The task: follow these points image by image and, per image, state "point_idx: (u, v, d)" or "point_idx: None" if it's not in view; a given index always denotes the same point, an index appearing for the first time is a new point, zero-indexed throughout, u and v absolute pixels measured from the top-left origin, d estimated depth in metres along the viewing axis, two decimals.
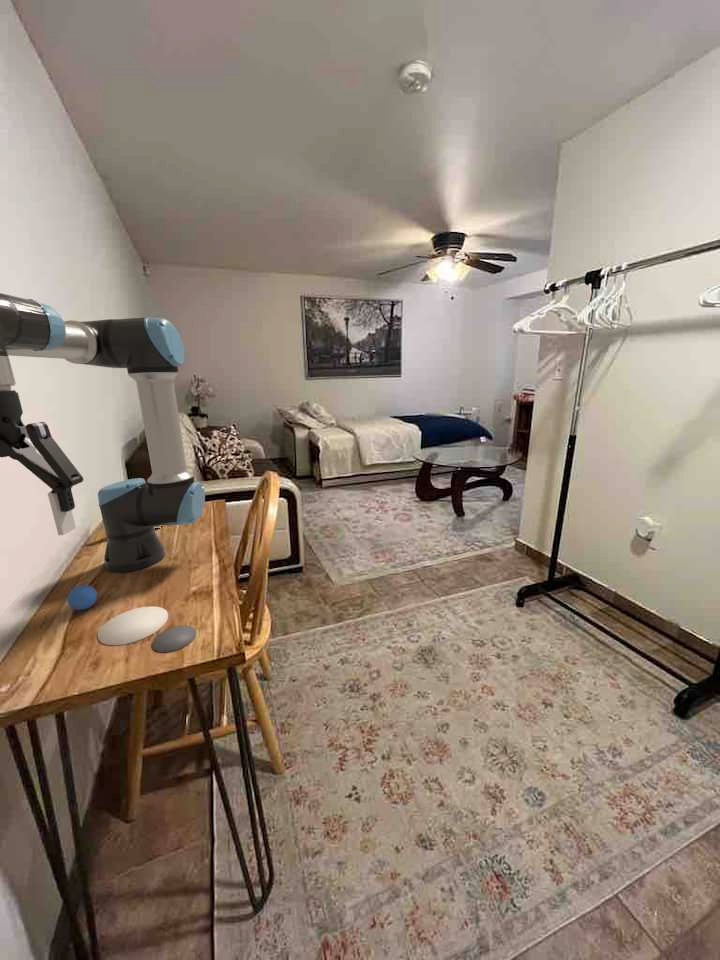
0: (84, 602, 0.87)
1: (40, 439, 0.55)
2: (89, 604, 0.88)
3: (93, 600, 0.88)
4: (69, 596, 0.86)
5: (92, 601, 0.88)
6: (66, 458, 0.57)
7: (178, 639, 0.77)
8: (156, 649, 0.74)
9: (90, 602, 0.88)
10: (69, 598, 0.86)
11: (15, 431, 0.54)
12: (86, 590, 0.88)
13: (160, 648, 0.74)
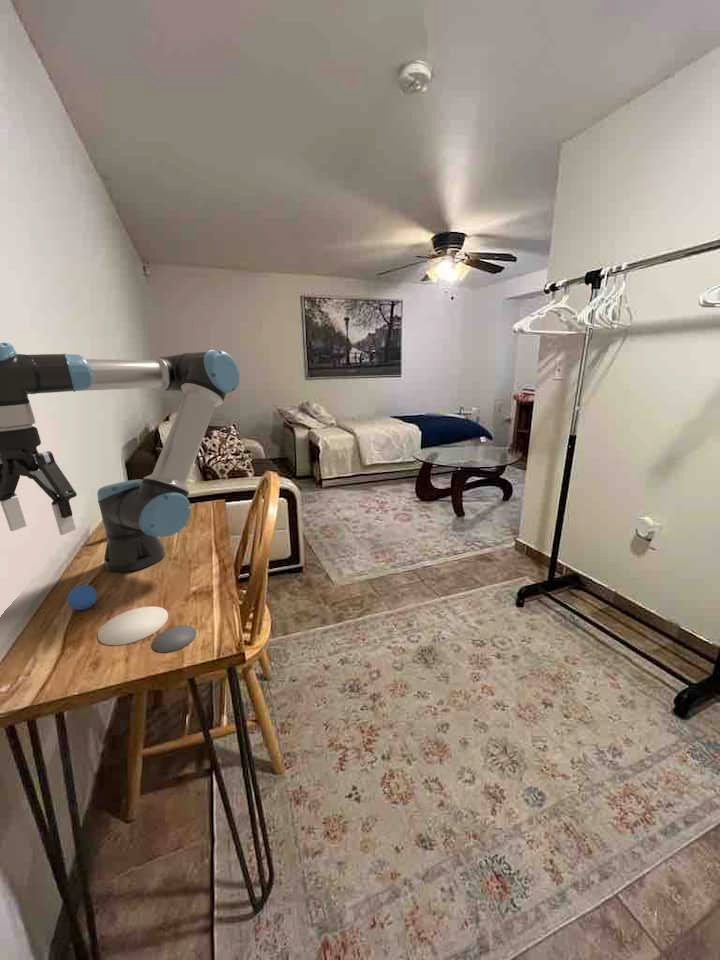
0: (84, 602, 0.87)
1: (44, 465, 0.74)
2: (89, 604, 0.88)
3: (93, 600, 0.88)
4: (69, 596, 0.86)
5: (92, 601, 0.88)
6: (64, 478, 0.76)
7: (178, 639, 0.77)
8: (156, 649, 0.74)
9: (90, 602, 0.88)
10: (69, 598, 0.86)
11: (30, 458, 0.75)
12: (86, 590, 0.88)
13: (160, 648, 0.74)
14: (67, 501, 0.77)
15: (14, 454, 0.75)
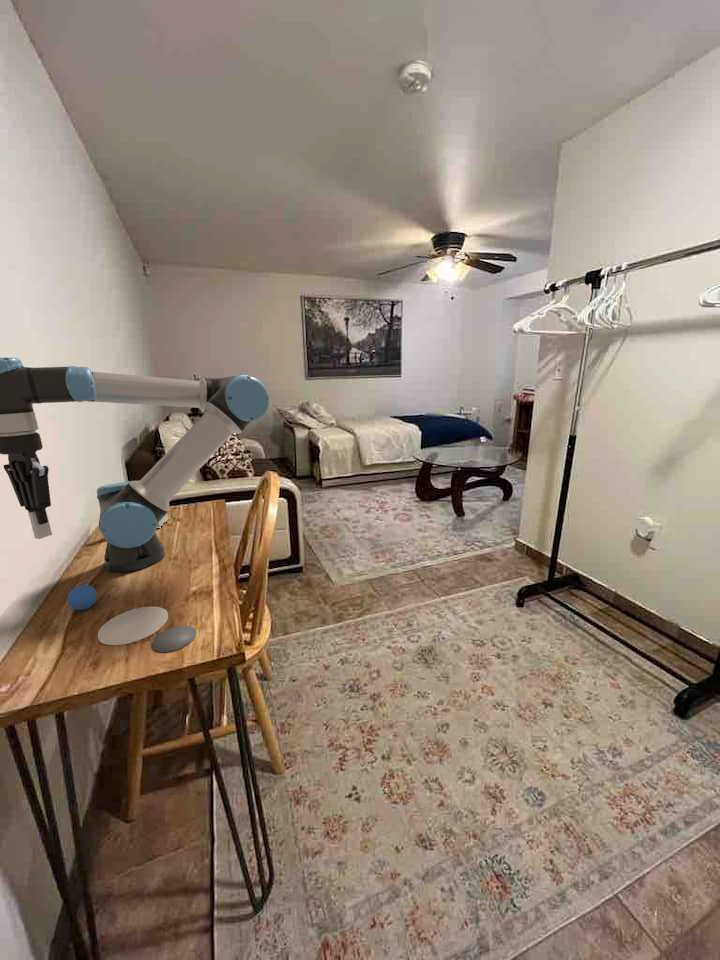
0: (84, 602, 0.87)
1: (36, 478, 0.83)
2: (89, 604, 0.88)
3: (93, 600, 0.88)
4: (69, 596, 0.86)
5: (92, 601, 0.88)
6: (47, 491, 0.85)
7: (178, 639, 0.77)
8: (156, 649, 0.74)
9: (90, 602, 0.88)
10: (69, 598, 0.86)
11: (28, 464, 0.82)
12: (86, 590, 0.88)
13: (160, 648, 0.74)
14: (43, 510, 0.87)
15: (17, 457, 0.83)
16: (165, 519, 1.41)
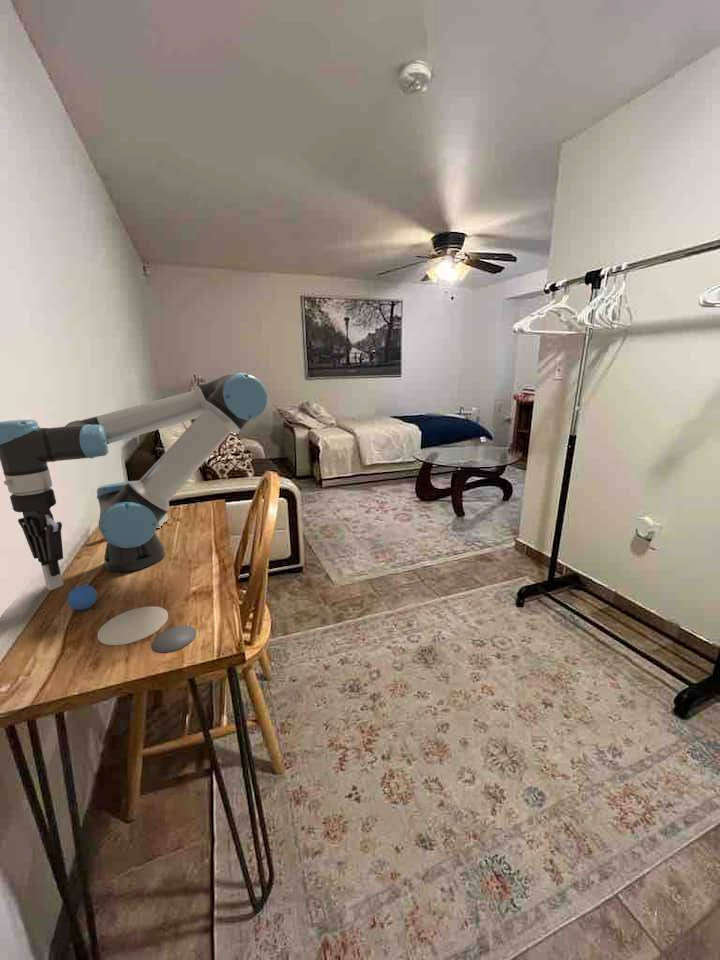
0: (84, 602, 0.87)
1: (50, 534, 0.86)
2: (89, 604, 0.88)
3: (93, 600, 0.88)
4: (69, 596, 0.86)
5: (92, 601, 0.88)
6: (60, 545, 0.89)
7: (178, 639, 0.77)
8: (156, 649, 0.74)
9: (90, 602, 0.88)
10: (69, 598, 0.86)
11: (42, 521, 0.86)
12: (86, 590, 0.88)
13: (160, 648, 0.74)
14: (56, 562, 0.90)
15: (32, 513, 0.87)
16: (165, 519, 1.41)
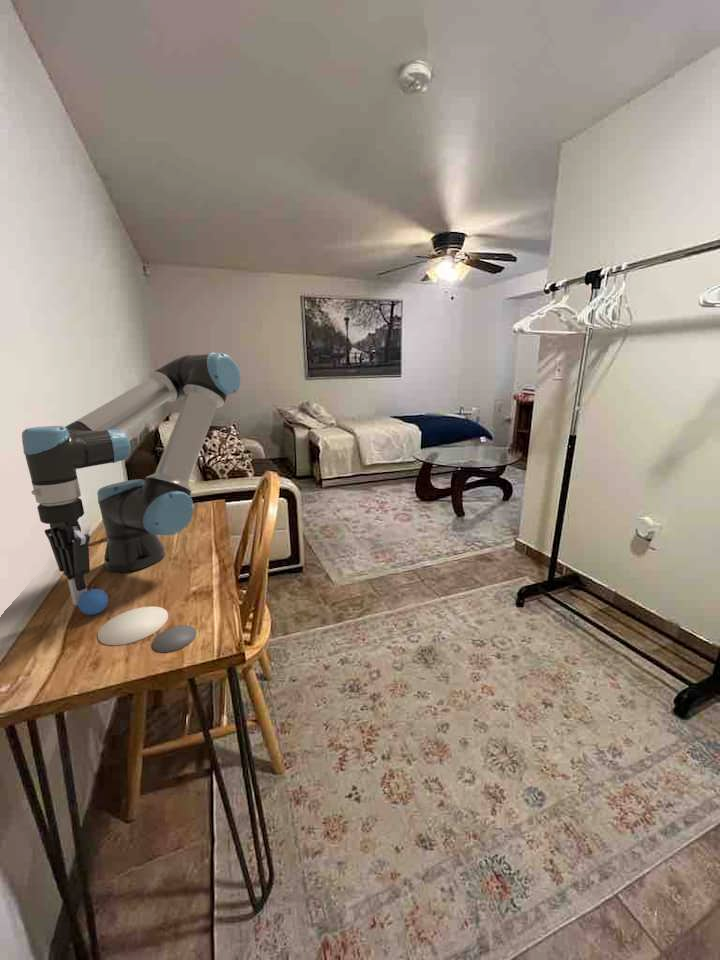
0: (95, 613, 0.86)
1: (77, 547, 0.81)
2: (97, 613, 0.87)
3: (102, 610, 0.87)
4: (83, 603, 0.84)
5: (101, 610, 0.87)
6: (87, 558, 0.84)
7: (178, 639, 0.77)
8: (156, 649, 0.74)
9: (99, 612, 0.87)
10: (82, 605, 0.84)
11: (70, 533, 0.81)
12: (101, 604, 0.86)
13: (160, 648, 0.74)
14: (82, 576, 0.86)
15: (59, 525, 0.82)
16: None
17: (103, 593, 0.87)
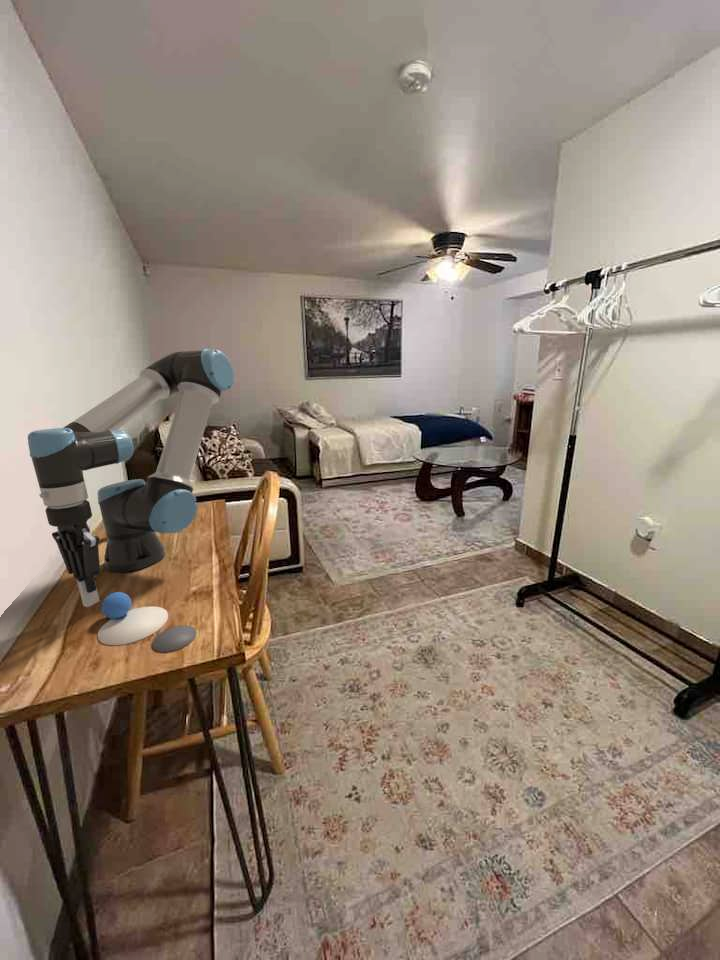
0: None
1: (87, 549, 0.81)
2: None
3: None
4: (110, 615, 0.83)
5: None
6: (97, 560, 0.84)
7: (178, 639, 0.77)
8: (156, 649, 0.74)
9: None
10: (108, 614, 0.82)
11: (79, 535, 0.81)
12: None
13: (160, 648, 0.74)
14: (92, 578, 0.85)
15: (68, 527, 0.82)
16: None
17: None
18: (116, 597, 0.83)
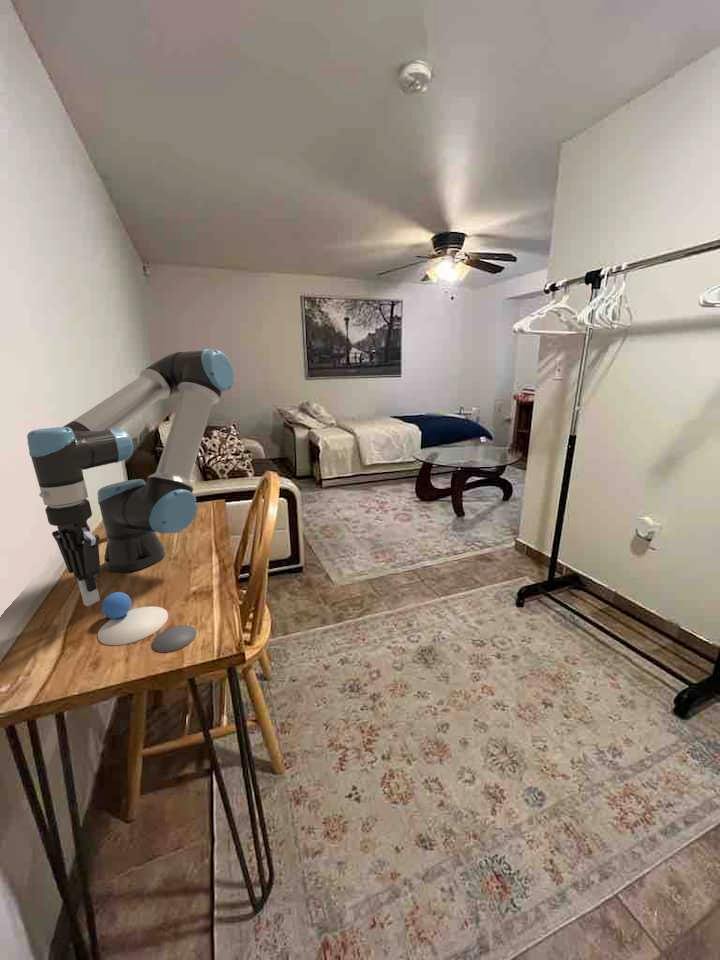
0: None
1: (87, 548, 0.81)
2: None
3: None
4: (110, 615, 0.83)
5: None
6: (97, 559, 0.84)
7: (178, 639, 0.77)
8: (156, 649, 0.74)
9: None
10: (108, 614, 0.82)
11: (79, 534, 0.81)
12: None
13: (160, 648, 0.74)
14: (92, 577, 0.86)
15: (68, 526, 0.82)
16: None
17: None
18: (116, 597, 0.83)
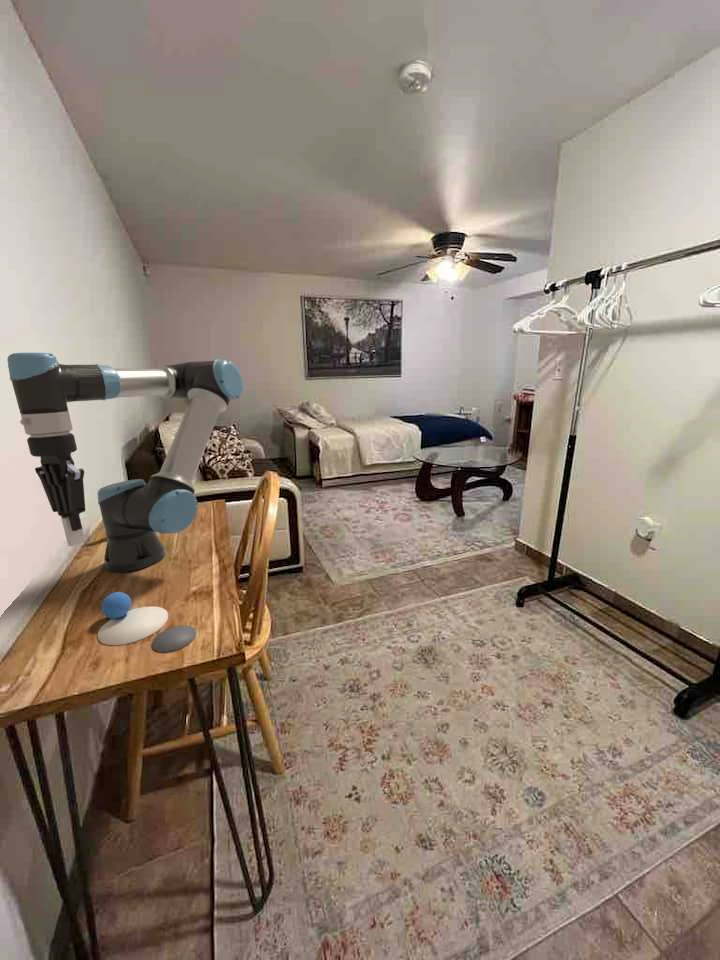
0: None
1: (71, 482, 0.77)
2: None
3: None
4: (110, 615, 0.83)
5: None
6: (82, 496, 0.80)
7: (178, 639, 0.77)
8: (156, 649, 0.74)
9: None
10: (108, 614, 0.82)
11: (63, 467, 0.77)
12: None
13: (160, 648, 0.74)
14: (77, 515, 0.82)
15: (51, 459, 0.78)
16: None
17: None
18: (116, 597, 0.83)
